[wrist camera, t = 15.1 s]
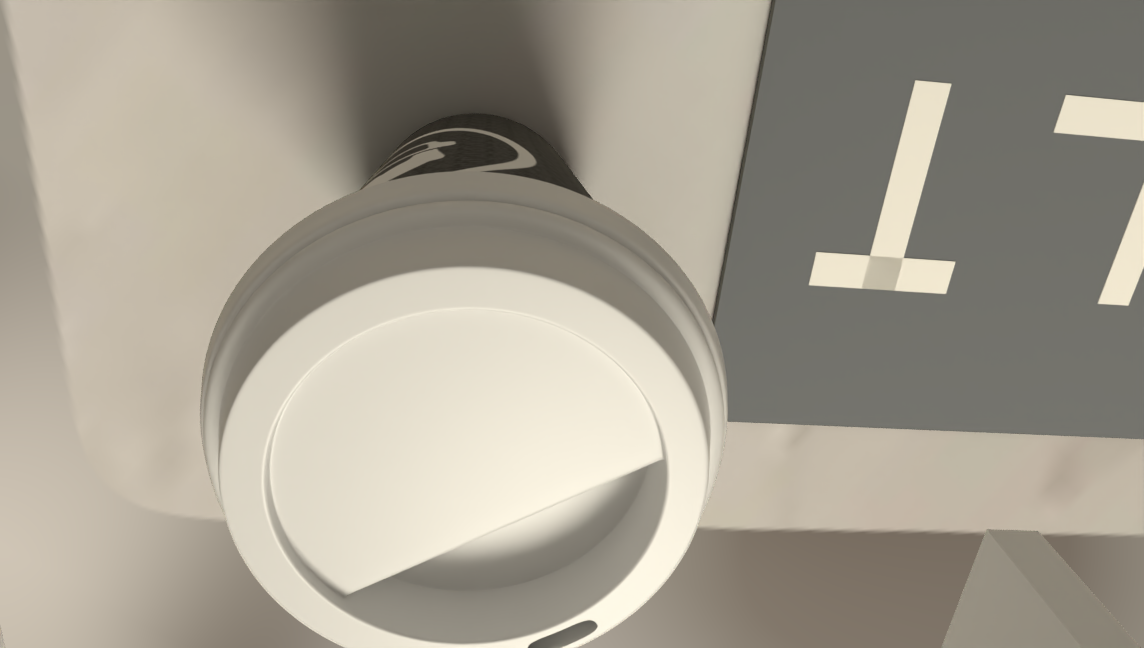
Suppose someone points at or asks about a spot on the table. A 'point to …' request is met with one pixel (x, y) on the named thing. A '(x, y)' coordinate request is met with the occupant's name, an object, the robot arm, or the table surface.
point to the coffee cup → (464, 404)
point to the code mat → (942, 219)
